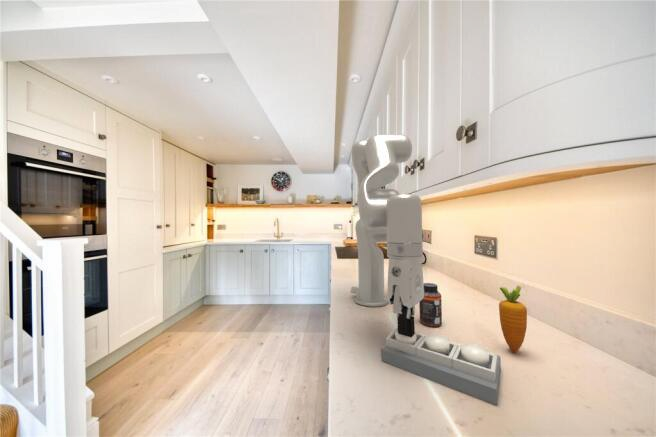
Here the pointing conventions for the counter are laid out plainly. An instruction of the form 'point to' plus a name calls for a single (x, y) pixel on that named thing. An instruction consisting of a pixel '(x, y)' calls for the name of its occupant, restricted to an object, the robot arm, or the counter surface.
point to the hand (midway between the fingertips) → (406, 334)
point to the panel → (445, 367)
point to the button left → (406, 338)
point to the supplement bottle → (431, 306)
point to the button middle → (437, 343)
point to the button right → (475, 354)
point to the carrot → (513, 319)
